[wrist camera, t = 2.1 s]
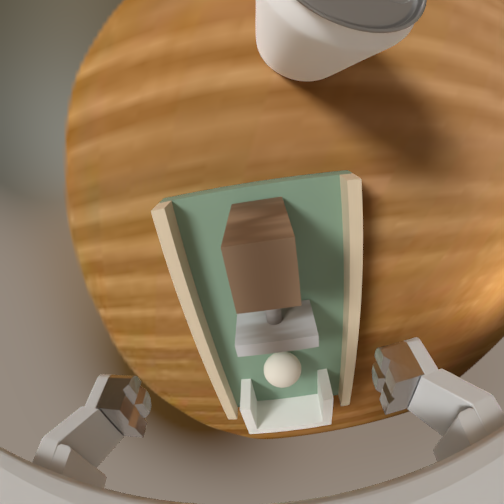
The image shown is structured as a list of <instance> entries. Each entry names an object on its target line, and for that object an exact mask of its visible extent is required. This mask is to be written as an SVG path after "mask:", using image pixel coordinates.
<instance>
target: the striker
mask: <svg viewBox="0 0 504 504" xmlns="http://www.w3.org/2000/svg"><path fill="white" fill-rule="evenodd" d="M221 251H222V256H223V260H224V264H225V268H226V273H227V277H228V281H229V285H230V289H231V293H232V297H233V301H234V306H235V310H236V314H237V323H236V335H235V349H236V352H237V356H238V357H243V356H253V355H263V354H271V353H279V352H287V351H294V350H301V349H308V348H314V347H319V335H318V331H317V327H316V323H315V319H314V315H313V311H312V307H311V304H310V300H302V301H301V293H300V282H299V272H298V262H297V252H296V243H295V236H294V233H293V229H292V226H291V223H290V220H289V217H288V214H287V211H286V208H285V204H284V201H283V198H282V197H275V198H268V199H261V200H255V201H248V202H242V203H236V204H232V205H231V209H230V212H229V216H228V220H227V224H226V228H225V232H224V236H223V240H222V244H221Z"/></svg>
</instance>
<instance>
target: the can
mask: <svg viewBox="0 0 504 504" xmlns="http://www.w3.org/2000/svg"><path fill="white" fill-rule="evenodd" d="M425 6H426V0H256V43H257V47H258V50H259V53H260V55H261V57H262V58H263V60H264V61H265V62H266V64H267V65H268V66H269V67H270V68H272V69H273V70H274V71H275V72H277V73H279V74H280V75H282V76H284V77H287V78H289V79H293V80H297V81H317V80H321V79H324V78H327V77H329V76H331V75H333V74H335V73H338V72H340V71H342V70H344V69H346V68H348V67H350V66H352V65H354V64H356V63H358V62H360V61H362V60H365V59H367V58H369V57H371V56H373V55H375V54H377V53H380V52H382V51H384V50H386V49H388V48H390V47H392V46H394V45H396V44H397V43H398V42H400V41H401V40H402V39H404V38H405V37H406V36H407V35H408V33H409V32H410V31H411V29H412V27H413V25H414V23H415V22H417V21H418V20H419V18H420V17H421V16H422V14H423V12H424V10H425Z"/></svg>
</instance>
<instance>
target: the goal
mask: <svg viewBox="0 0 504 504" xmlns="http://www.w3.org/2000/svg"><path fill="white" fill-rule="evenodd" d="M317 385H318V394H312V395H306V396H299V397H291V398H283V399H274V400H264V401H257V399H256V395H255V392H254V388H253V385H252V381H251V379H241V398H240V411H241V414H242V416H243V419H244V421H245V424H246V426H247V429H248V431H249V434H257V433H270V432H280V431H289V430H297V429H305V428H312V427H318V426H324V425H330V424H331V421H332V411H333V399H334V398H333V394H332V389H331V385H330V380H329V376H328V372H327V369H321V370H317Z"/></svg>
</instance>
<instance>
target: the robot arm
mask: <svg viewBox="0 0 504 504" xmlns="http://www.w3.org/2000/svg"><path fill="white" fill-rule="evenodd" d="M375 358H376V360H377V361H376V362H375V363H374V364H373V368H372V379H373V383H374V386H375V389H376V390H377V391H379V392H380V393H381V397H380V402H381V405H382V407H383V410H384V413H385V414H389V413H393V412H396V411H400V410H403V409H406V408H408V410H409V411H410V412H412V413H413V414H414V415H416V416H417V417H418V418H420V419H421V420H422V421H424V422H425V423H426V424H427V425H429V426H430V427H431V428H432V429H434V430H435V431H436V432H438V433H439V434H440V435H442V436H443V437H442V438H441V439H440V441H439V442H438V443H437V445H436V446H435V448H434V449H433V451H434V454H435V457H436V460H437V462H436V463H434V464H431V465H429V466H426V467H424V468H422V469H419V470H417V471H414V472H411V473H409V474H406V475H403V476H401V477H398V478H395V479H392V480H388V481H385V482H382V483H379V484H375V485H372V486H368V487H365V488H361V489H357V490H353V491H349V492H345V493H340V494H335V495H330V496H325V497H320V498H313V499H307V500H299V501H292V502H283V503H272V504H504V413H503V411H502V410H501V408H500V406H499V404H498V403H497V401H496V399H495V398H494V396H493V395H492V394H490V393H489V392H487V391H485V390H483V389H481V388H479V387H477V386H475V385H473V384H471V383H469V382H467V381H465V380H463V379H461V378H460V377H458V376H456V375H454V374H452V373H450V372H448V371H446V370H444V369H438V368H437V366H436V364H435V363H434V361H433V360H432V358H431V356H430V355H429V353H428V351H427V350H426V348H425V347H424V345H423V343H422V342H421V340H420V339H419V338H418V337H415V338H412V339H408V340H405V341H401V342H397V343H393V344H390V345H386V346H382V347H379V348H377V349H376V351H375ZM140 385H141V381H140V380H139V378H138V377H137V376H123V375H107V374H101V375H100V376H98V378H97V380H96V382H95V384H94V386H93V389H92V391H91V393H90V395H89V398H88V400H87V402H86V405H85V407H83V406H82V407H80V408H79V409H78V410H76V411H75V412H74V413H73V414H71V415H70V416H69V417H68V418H66V419H65V420H64V421H63V422H61V423H60V424H59V425H57V426H56V427H55V428H54V429H52V430H51V431H50V432H49V433H47V434H46V435H45V436H44V437H43V438H42V440H41V443H40V445H39V448H38V450H37V452H36V455H35V457H34V460H33V462H30V461H27V460H25V459H23V458H21V457H19V456H17V455H15V454H13V453H11V452H9V451H7V450H6V449H4V448H2V447H0V504H194V503H182V502H174V501H166V500H158V499H152V498H146V497H141V496H135V495H131V494H125V493H121V492H117V491H113V490H108V489H105V488H104V486H105V482H106V476H105V474H103V473H102V472H101V471H99V470H98V469H97V467H98V466H99V465H100V463H101V462H102V461H103V460H104V459H105V458H106V457H107V456H108V454H109V453H110V452H111V451H112V450H113V449H114V448H115V447H116V445H117V444H118V443H119V442H120V441H121V440H122V439H123V438H124V436H131V437H144V433H145V429H146V425H147V422H146V420H145V417H146V416H147V415H148V414H149V413H150V410H151V399H150V395H149V393H148V392H147V390H146V389H144V388H143V387H141V386H140ZM270 504H271V503H270Z"/></svg>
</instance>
